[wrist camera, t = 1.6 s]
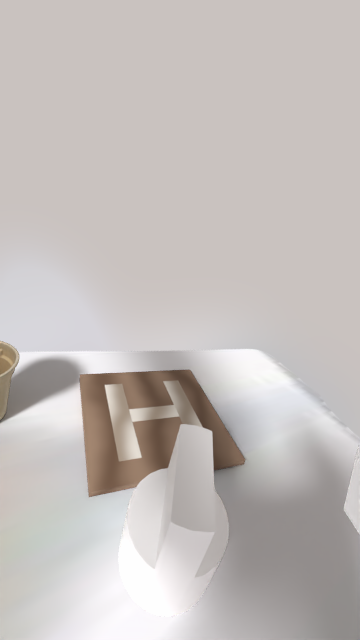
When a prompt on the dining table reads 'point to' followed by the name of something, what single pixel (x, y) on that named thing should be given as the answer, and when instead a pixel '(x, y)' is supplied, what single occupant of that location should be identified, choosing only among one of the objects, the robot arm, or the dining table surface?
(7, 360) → the flower pot
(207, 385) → the dining table surface
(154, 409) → the letter board
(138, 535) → the base with upright slab
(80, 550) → the dining table surface
